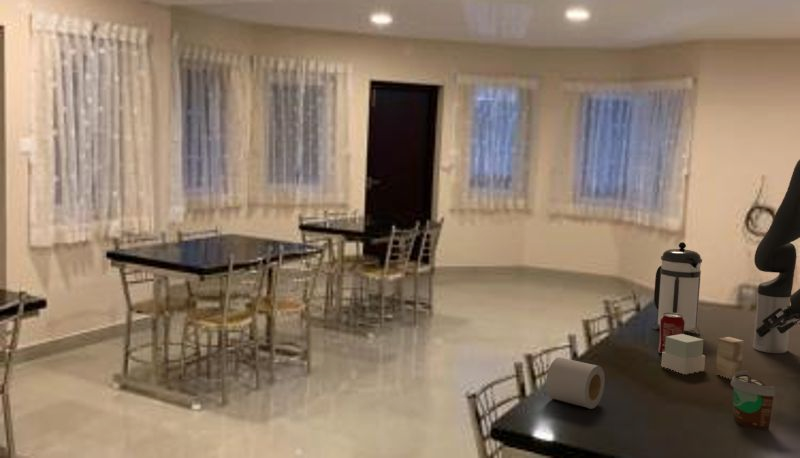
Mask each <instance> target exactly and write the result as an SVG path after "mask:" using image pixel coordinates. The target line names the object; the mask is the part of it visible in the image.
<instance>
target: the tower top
mask: <svg viewBox="0 0 800 458" xmlns="http://www.w3.org/2000/svg"><path fill="white" fill-rule="evenodd" d="M703 350H704V339H703V338H700V337H696V336H691V335H689V334H688V335H687V334H685V333H684V334H678V335H672V336H666V340H665V353H668V354H672V355H675V356H678V357H682V358H685V359H687V358H692V357H697V356H702V355H704V354H703V353H704V352H703Z"/></svg>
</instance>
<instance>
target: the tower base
mask: <svg viewBox="0 0 800 458" xmlns="http://www.w3.org/2000/svg"><path fill="white" fill-rule="evenodd" d="M705 363H706V355H704V354H702V356H697V357H692V358H687V359H685V358H682V357H678V356H675V355H672V354H668V353H665V352H662V354H661V364H660V367H661V366H662V367H661V368H663V367H665V368H664V369H666V368H669V369H671V370H670V371H672V370H674V371H673V372H675V371H676V373H678V372H679V374H681V373H682V375H684V374H685V375H689V373H690V374H695V373H694V372H696V373H700V372H699V371H701V372H704V371H705V366H706V365H705ZM669 369H668V370H669Z"/></svg>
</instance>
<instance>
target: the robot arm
mask: <svg viewBox="0 0 800 458" xmlns="http://www.w3.org/2000/svg"><path fill="white" fill-rule="evenodd" d="M798 239H800V159H798V161H797V162H796V164H795V166H794V168H793V171H792V174H791V177H790V181H789V183H788V187H787V190H786V192H785V195H784V197H783V199H782V201H781V203H780V205H779V207H778V208H777V210H776V212H775V214H774V217H773V220H772V221H771V223H770V226H769V229H767V231H766V232H765V235H763V238H761V240H760V242H759V243H758V245H757V247H756V249H755V253H754V260H753V261H754V265H755V268H756V269H757V270H758V271H760V272H764V273H777V274H778V275H777V276H776V277H775V278H773V279H770V280H767V281H764V282H761V283H759V284H758V286H757V298H756V310H755V322H754V323H755V324H754V335H753V349H754V350H756V351H759V352H764V353H770V354H785V353H787V351H788V350H789V340H790V329H791V328H793V327H796V326H798V325H800V288H799V289H797V290H796V291H794V292H793V287H794V286H793V284H794V276H795V270H796V264H797V248H796V245H794V244H793V243H792V242H795V241H796V240H798ZM792 292H793V293H792Z"/></svg>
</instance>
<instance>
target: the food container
mask: <svg viewBox="0 0 800 458" xmlns="http://www.w3.org/2000/svg"><path fill="white" fill-rule="evenodd" d="M730 386H731V387H732V388H733V420H734V421H735V422H736V423H738V424H740V425H741V426H745V427H747V428H753V429H757V430H769V429H770V422H771V418H772V417H771V416H772V410H773V403H774V397H776V386H770V385H766V384H764V383H763V382H762V381H761V380H759V379H755V378H753V377H751V376H750V375H749V371H747V370H745V371H744V370H743V371H741V372H737V373H735V374H734V376H733V378H732V379H731V381H730Z"/></svg>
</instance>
